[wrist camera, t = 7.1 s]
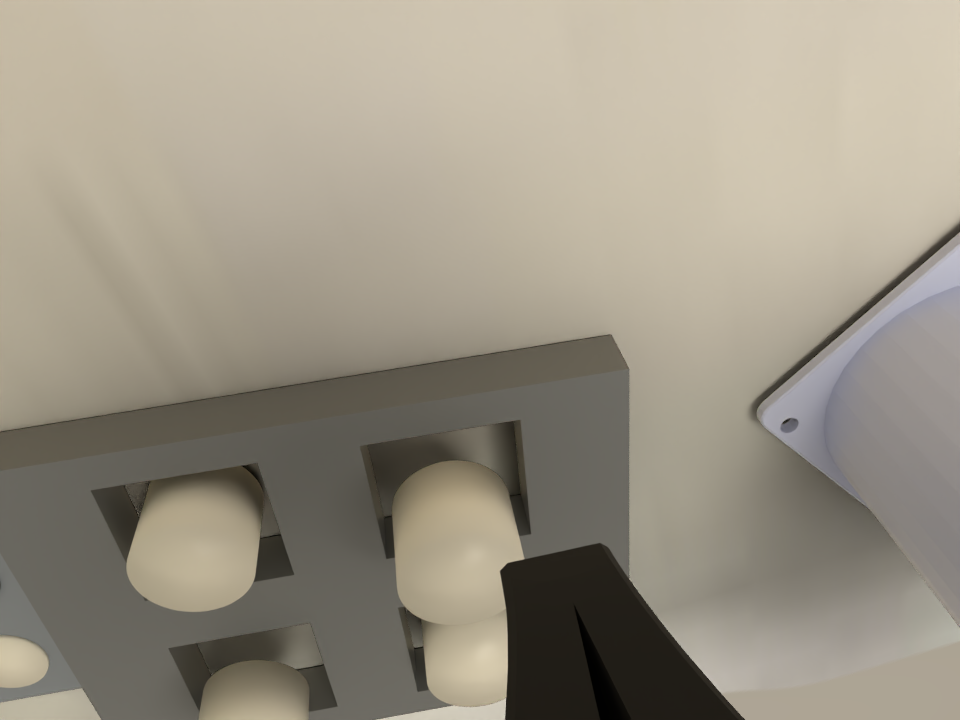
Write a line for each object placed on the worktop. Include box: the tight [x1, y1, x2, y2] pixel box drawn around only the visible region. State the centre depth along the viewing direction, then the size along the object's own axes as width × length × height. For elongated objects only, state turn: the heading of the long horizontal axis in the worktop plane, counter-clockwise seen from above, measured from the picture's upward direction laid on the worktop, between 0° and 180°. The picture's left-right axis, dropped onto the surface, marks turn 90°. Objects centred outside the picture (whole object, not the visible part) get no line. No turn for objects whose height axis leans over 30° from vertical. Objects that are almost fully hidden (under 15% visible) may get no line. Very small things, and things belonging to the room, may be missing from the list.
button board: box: [0, 335, 629, 720], centre depth 24 cm, size 16×12×2 cm
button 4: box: [392, 460, 524, 625], centre depth 20 cm, size 3×3×2 cm
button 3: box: [421, 609, 508, 707], centre depth 25 cm, size 3×3×2 cm
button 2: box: [126, 466, 264, 612], centre depth 21 cm, size 3×3×2 cm
